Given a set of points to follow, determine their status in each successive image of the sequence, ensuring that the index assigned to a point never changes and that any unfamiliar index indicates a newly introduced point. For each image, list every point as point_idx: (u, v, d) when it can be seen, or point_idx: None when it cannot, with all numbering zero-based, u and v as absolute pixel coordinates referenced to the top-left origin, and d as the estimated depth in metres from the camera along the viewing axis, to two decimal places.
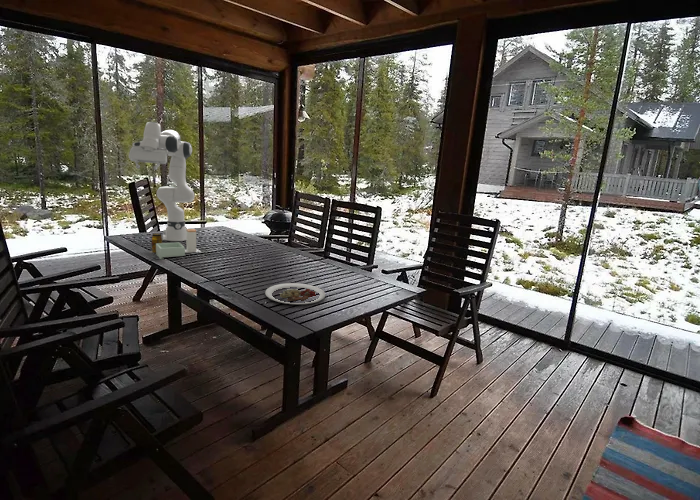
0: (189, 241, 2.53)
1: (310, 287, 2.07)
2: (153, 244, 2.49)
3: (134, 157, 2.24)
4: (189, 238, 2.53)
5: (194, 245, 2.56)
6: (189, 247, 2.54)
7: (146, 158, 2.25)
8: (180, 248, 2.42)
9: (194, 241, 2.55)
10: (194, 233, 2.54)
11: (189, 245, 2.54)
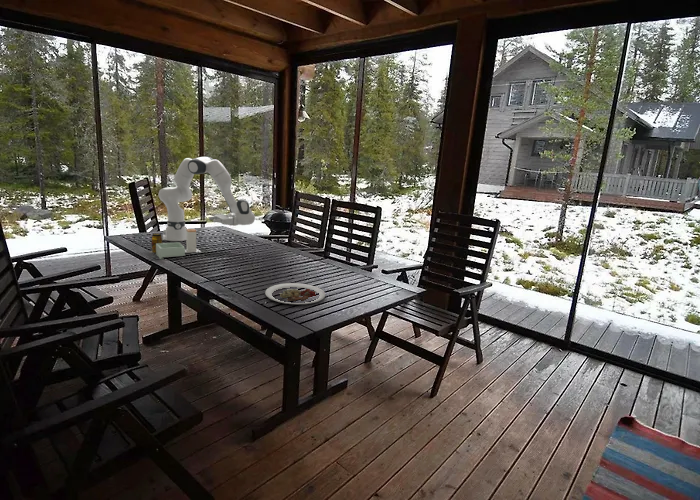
0: (189, 241, 2.53)
1: (310, 287, 2.07)
2: (153, 244, 2.49)
3: (222, 223, 2.59)
4: (189, 238, 2.53)
5: (194, 245, 2.56)
6: (189, 247, 2.54)
7: None
8: (180, 248, 2.42)
9: (194, 241, 2.55)
10: (194, 233, 2.54)
11: (189, 245, 2.54)
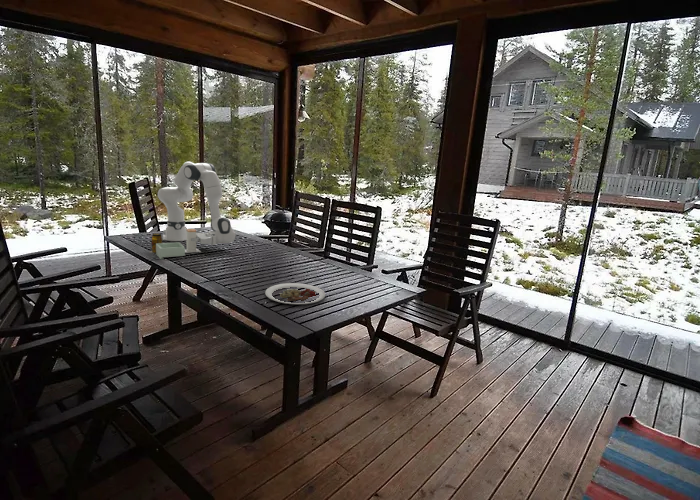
0: (189, 241, 2.53)
1: (310, 287, 2.07)
2: (153, 244, 2.49)
3: None
4: (189, 238, 2.53)
5: (194, 245, 2.56)
6: (189, 247, 2.54)
7: None
8: (180, 248, 2.42)
9: (194, 241, 2.55)
10: (194, 233, 2.54)
11: (189, 245, 2.54)
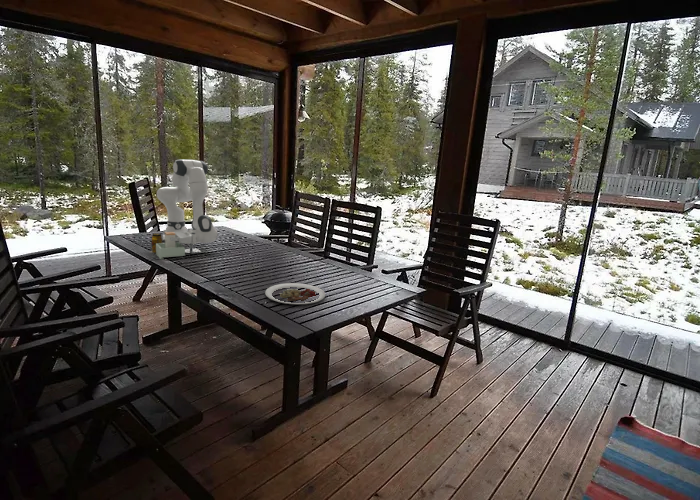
0: (167, 245, 2.41)
1: (310, 287, 2.07)
2: (153, 244, 2.49)
3: None
4: (167, 241, 2.41)
5: None
6: None
7: None
8: (180, 248, 2.42)
9: (173, 244, 2.43)
10: (173, 236, 2.42)
11: None
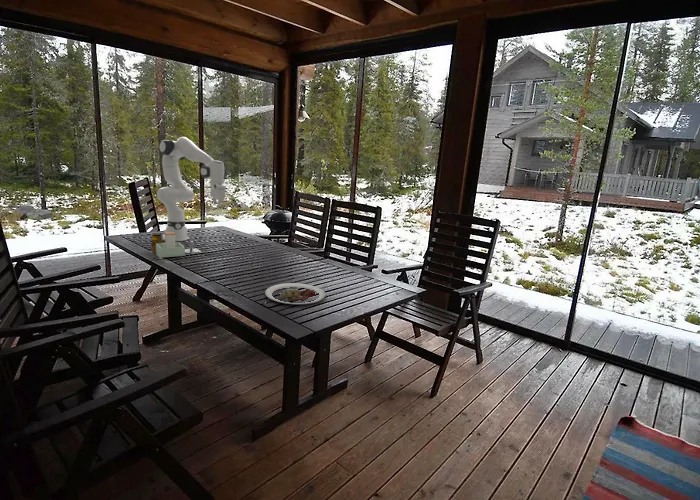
0: (168, 245, 2.41)
1: (310, 287, 2.07)
2: (153, 244, 2.49)
3: None
4: (167, 241, 2.41)
5: None
6: None
7: None
8: (180, 248, 2.42)
9: (173, 245, 2.43)
10: (173, 236, 2.42)
11: None
